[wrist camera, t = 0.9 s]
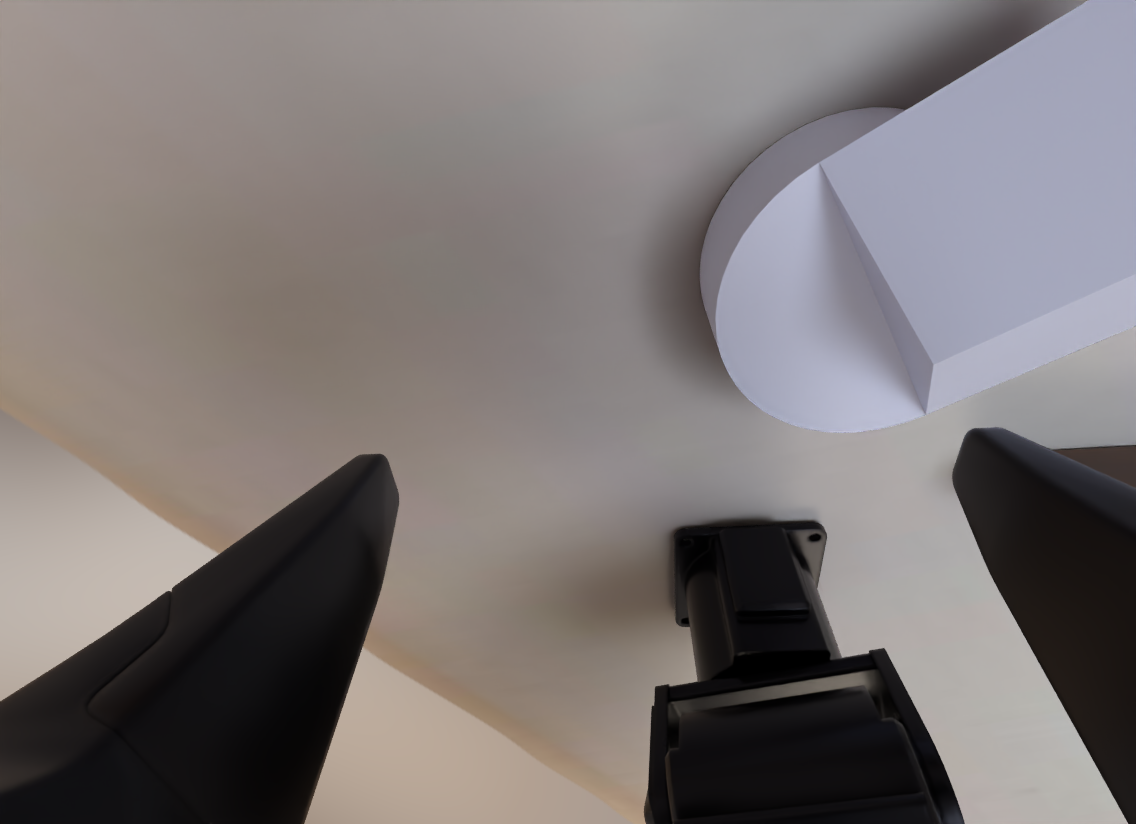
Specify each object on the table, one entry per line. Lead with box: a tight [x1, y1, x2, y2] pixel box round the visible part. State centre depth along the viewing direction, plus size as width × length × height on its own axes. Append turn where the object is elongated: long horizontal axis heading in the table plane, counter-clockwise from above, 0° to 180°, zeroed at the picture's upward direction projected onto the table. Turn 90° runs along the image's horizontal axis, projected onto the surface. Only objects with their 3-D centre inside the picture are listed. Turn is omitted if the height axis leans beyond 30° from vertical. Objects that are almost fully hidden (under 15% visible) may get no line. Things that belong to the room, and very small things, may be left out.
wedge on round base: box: [700, 0, 1136, 433], centre depth 16 cm, size 9×7×13 cm
